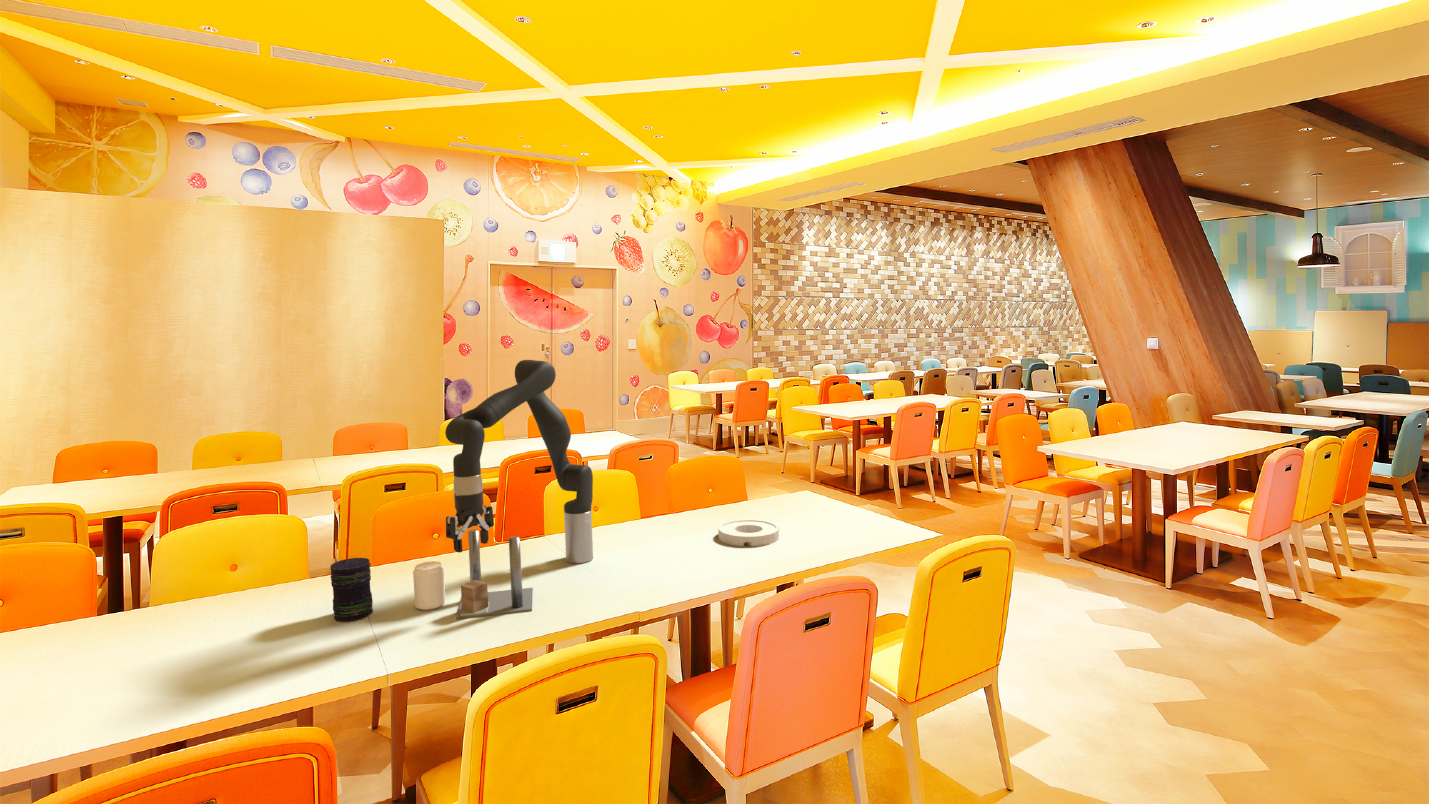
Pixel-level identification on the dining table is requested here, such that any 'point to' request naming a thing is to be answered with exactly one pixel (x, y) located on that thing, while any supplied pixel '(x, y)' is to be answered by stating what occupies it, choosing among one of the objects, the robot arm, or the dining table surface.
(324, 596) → the dining table surface
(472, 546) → the post
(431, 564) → the beverage can
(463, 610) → the pad
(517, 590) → the post
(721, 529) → the ashtray
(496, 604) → the mat
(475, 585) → the walnut block
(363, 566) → the black cylinder
